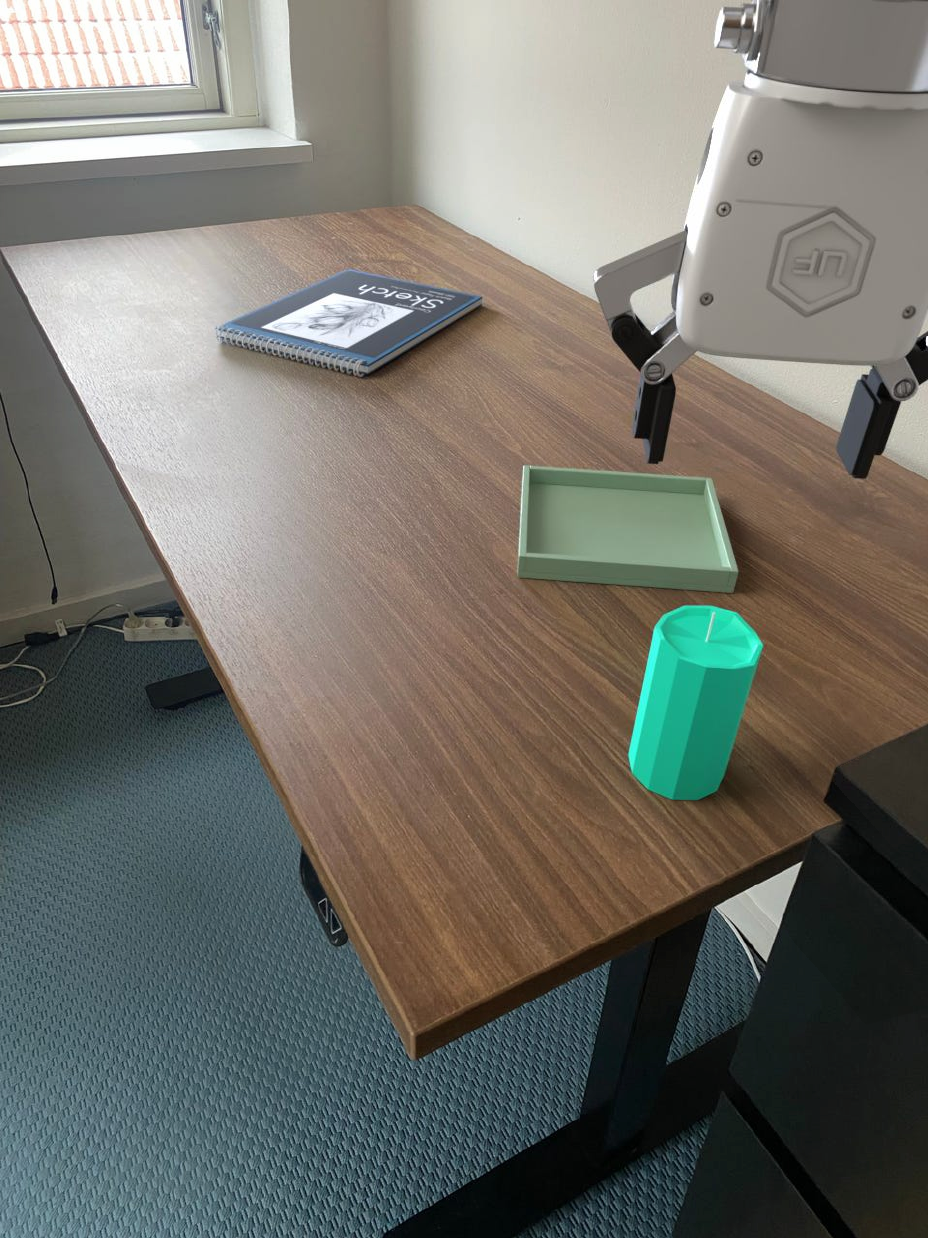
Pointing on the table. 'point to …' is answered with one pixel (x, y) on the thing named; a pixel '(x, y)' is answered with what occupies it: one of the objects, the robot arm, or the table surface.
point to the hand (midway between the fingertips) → (750, 458)
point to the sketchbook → (350, 321)
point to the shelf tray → (623, 530)
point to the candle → (692, 700)
